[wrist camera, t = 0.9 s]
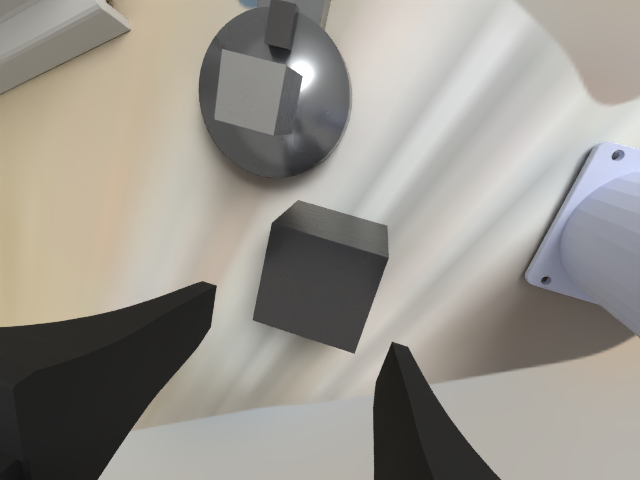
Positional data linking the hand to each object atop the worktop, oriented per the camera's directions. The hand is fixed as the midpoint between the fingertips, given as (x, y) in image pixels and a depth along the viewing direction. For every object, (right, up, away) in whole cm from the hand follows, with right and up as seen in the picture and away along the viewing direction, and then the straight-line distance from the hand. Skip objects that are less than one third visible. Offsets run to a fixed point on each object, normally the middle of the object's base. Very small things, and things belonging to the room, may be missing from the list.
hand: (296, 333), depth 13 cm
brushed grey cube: (+2, +3, +8) cm, 9 cm away
